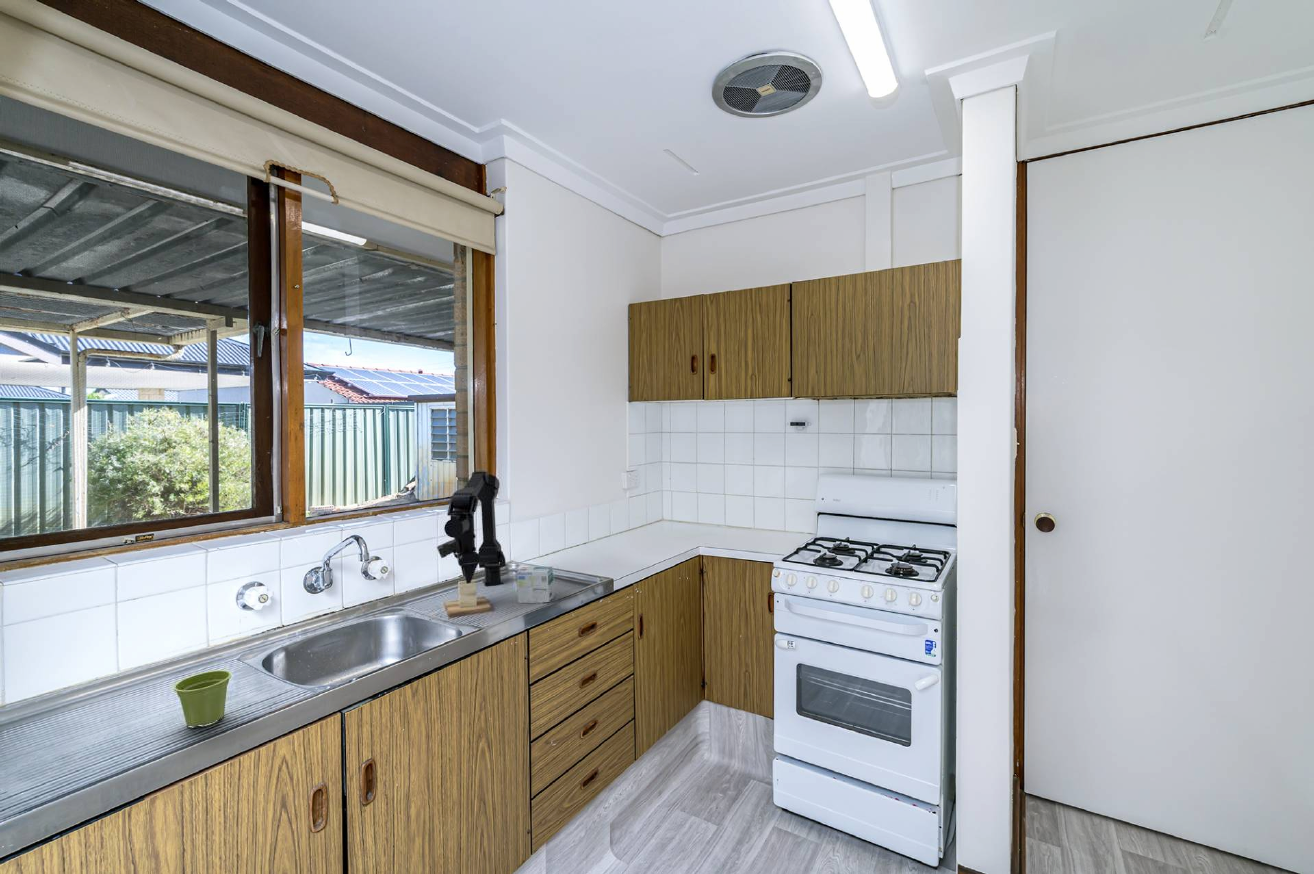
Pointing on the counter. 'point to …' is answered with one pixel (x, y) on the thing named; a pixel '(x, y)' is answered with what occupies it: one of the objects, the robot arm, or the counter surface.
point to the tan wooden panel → (467, 608)
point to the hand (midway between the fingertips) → (466, 579)
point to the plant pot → (203, 696)
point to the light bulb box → (535, 584)
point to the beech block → (467, 594)
